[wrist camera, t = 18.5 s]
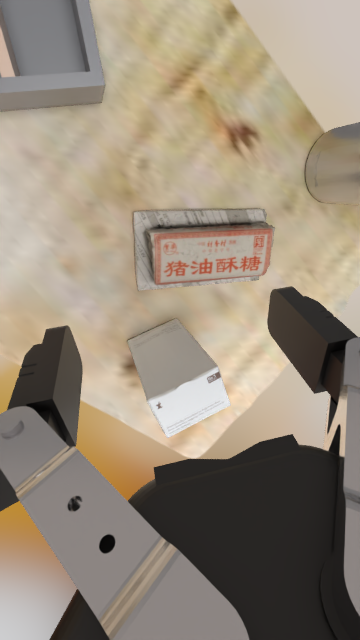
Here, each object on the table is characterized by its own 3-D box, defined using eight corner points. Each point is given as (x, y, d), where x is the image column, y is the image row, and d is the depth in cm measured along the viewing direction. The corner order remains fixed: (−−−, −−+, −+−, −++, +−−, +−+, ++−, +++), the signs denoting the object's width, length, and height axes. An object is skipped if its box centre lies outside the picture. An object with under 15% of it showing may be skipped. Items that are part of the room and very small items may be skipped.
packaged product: (282, 209, 37) (272, 287, 41) (262, 207, 41) (255, 278, 45) (137, 213, 32) (141, 300, 36) (130, 210, 37) (135, 288, 41)
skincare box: (141, 369, 45) (164, 443, 32) (125, 337, 42) (143, 404, 29) (191, 346, 46) (233, 409, 33) (179, 314, 43) (220, 368, 30)
